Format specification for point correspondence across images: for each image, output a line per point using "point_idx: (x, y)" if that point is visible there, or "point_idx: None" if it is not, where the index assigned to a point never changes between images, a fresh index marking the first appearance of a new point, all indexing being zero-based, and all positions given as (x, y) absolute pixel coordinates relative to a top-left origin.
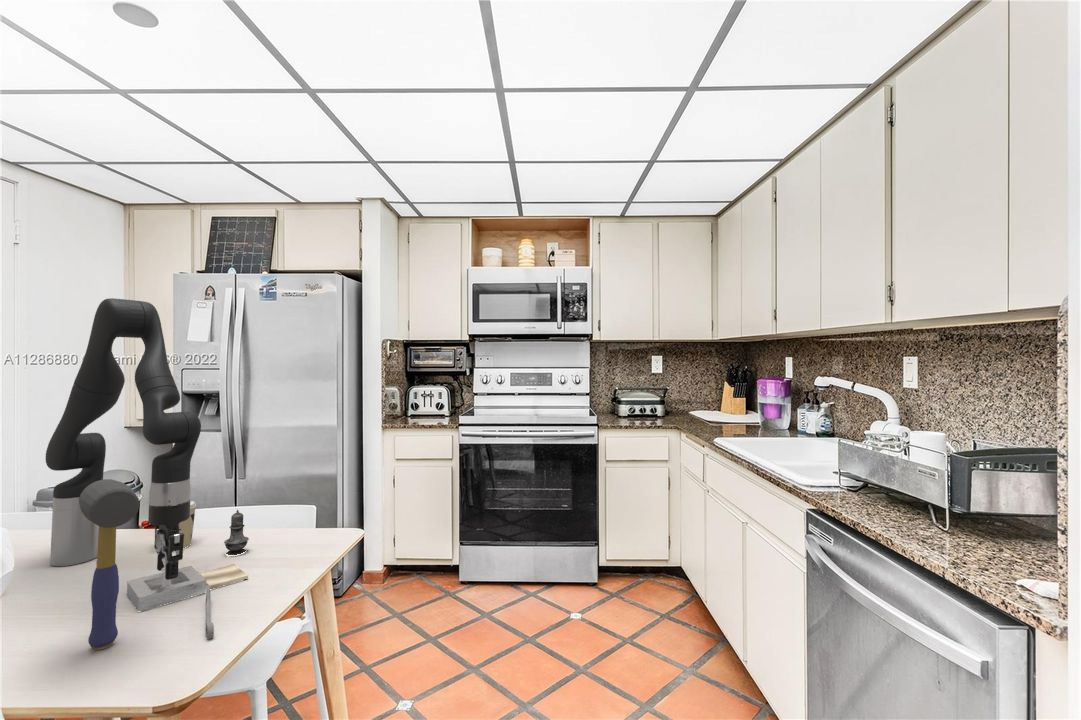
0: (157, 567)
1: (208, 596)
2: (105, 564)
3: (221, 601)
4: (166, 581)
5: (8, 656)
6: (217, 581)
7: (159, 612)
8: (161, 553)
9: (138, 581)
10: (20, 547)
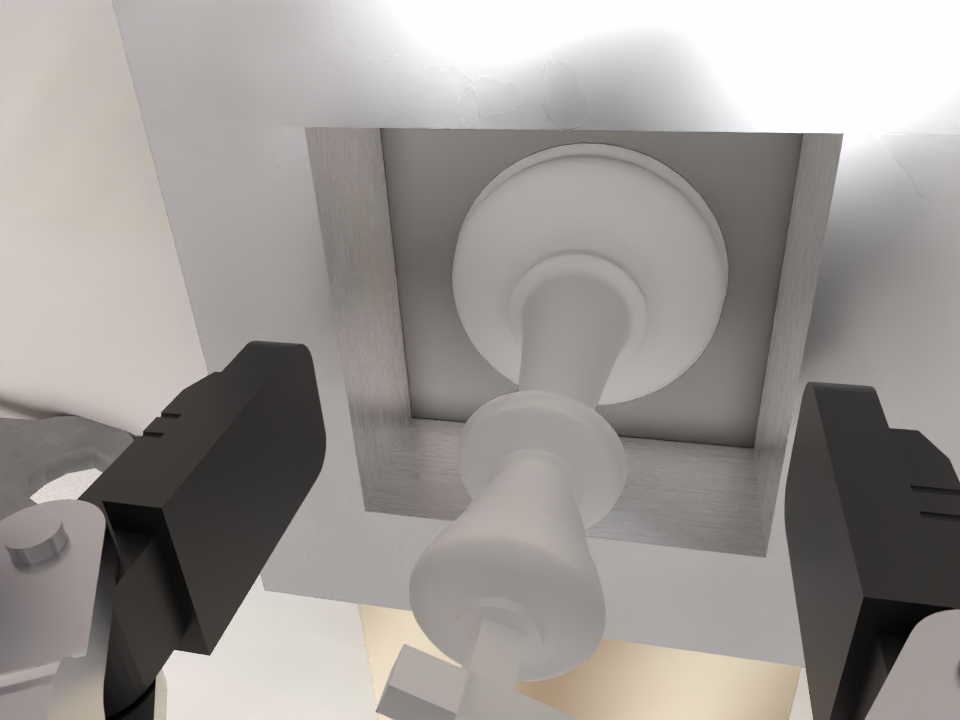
0: (842, 403)
1: None
2: None
3: (78, 497)
4: (523, 346)
5: None
6: (416, 628)
7: (96, 101)
8: (875, 662)
9: (900, 57)
10: None
